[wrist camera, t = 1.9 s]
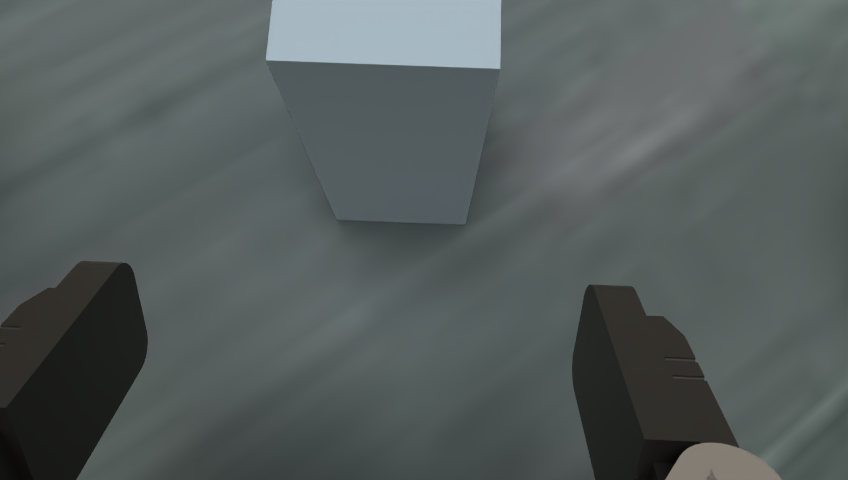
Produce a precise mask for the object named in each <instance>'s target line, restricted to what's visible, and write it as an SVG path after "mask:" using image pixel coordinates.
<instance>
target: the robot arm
mask: <svg viewBox="0 0 848 480" xmlns="http://www.w3.org/2000/svg"><path fill="white" fill-rule="evenodd" d="M147 345H148V338H147V330H146V326H145V321H144V317H143V312H142V308H141V303H140V299H139V294H138V290H137V285H136V281H135V276H134V273H133V270H132V268H131V267H130V265H129V264H127V263H115V262H92V261H82V262H80V263H78V264H77V265H76V266H75V267H74V268H73V269H72V270H71V271H70V272H69V274H68V275H67V276H66V277H65V278H64V279H63V280H62V281H61V283H60V284H59V285H58V286H57V287H56V288H47V289H46V290H44V291H42V292H41V293H39V294H37V295H36V296H34V297H32V298H31V299H29V300H27V301H26V302H24V303H22V304H21V305H19V306H18V307H17V309H16V310H15V311H14V312H13V313H12V314H11V315H10V316H9V317H8V318H7V319H6V320H5V321H4V322H3V323H2V325H1V329H0V480H76V479H77V477H78V476H79V474H80V472H81V470H82V469H83V467H84V465H85V464H86V462H87V460H88V459H89V457H90V455H91V453H92V452H93V450H94V448H95V447H96V445H97V443H98V442H99V440H100V438H101V436H102V435H103V433H104V431H105V430H106V428H107V426H108V425H109V423H110V421H111V419H112V418H113V416H114V414H115V413H116V411H117V409H118V408H119V406H120V404H121V402H122V401H123V399H124V397H125V396H126V394H127V392H128V391H129V389H130V387H131V385H132V384H133V382H134V380H135V379H136V377H137V375H138V374H139V372H140V370H141V368H142V366H143V364H144V361H145V358H146V353H147ZM572 376H573V386H574V391H575V395H576V400H577V404H578V408H579V412H580V417H581V421H582V425H583V429H584V433H585V438H586V442H587V446H588V450H589V454H590V459H591V463H592V467H593V471H594V476H595V480H782V479H781V478H780V477H779V475H778V474H777V473H776V472H775V471H774V470H773V469H772V468H771V467H770V466H769V465H767V464H766V463H765V462H764V461H762V460H761V459H759V458H758V457H756V456H754V455H753V454H751V453H749V452H747V451H745V450H742V449H740V448H739V446H738V444H737V442H736V440H735V438H734V436H733V434H732V432H731V430H730V428H729V425H728V423H727V421H726V419H725V417H724V415H723V413H722V411H721V409H720V407H719V405H718V403H717V401H716V399H715V397H714V395H713V393H712V391H711V389H710V387H709V385H708V383H707V381H704V375H703V372H702V370H701V368H700V366H699V364H698V363H697V362H695V356H694V354H693V352H692V350H691V348H690V346H689V344H688V342H687V340H686V338H685V336H684V335H683V334H682V333H681V332H680V331H679V330H677V329H676V328H675V327H674V326H673V325H672V324H671V323H670V322H669V321H668V320H666V319H665V318H664V317H663V316H646V314H645V312H644V309H643V307H642V305H641V302H640V300H639V298H638V295H637V293H636V291H635V289H634V288H633V287H632V286H610V285H588V287H587V289H586V291H585V295H584V300H583V305H582V311H581V316H580V321H579V327H578V332H577V337H576V342H575V348H574V353H573V363H572Z"/></svg>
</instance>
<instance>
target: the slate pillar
mask: <svg viewBox="0 0 848 480" xmlns="http://www.w3.org/2000/svg"><path fill="white" fill-rule="evenodd" d="M500 47H501V0H273V1H272V10H271V19H270V28H269V37H268V46H267V55H266V62H267V64H268V66H269V68H270V71H271V73H272V75H273V77H274V80H275V82H276V84H277V86H278V89H279V91H280V93H281V95H282V98H283V100H284V102H285V105H286V107H287V109H288V111H289V114H290V116H291V118H292V120H293V123H294V125H295V127H296V129H297V132H298V134H299V136H300V138H301V141H302V143H303V145H304V147H305V150H306V152H307V154H308V156H309V159H310V161H311V163H312V166H313V168H314V170H315V172H316V175H317V177H318V179H319V181H320V184H321V186H322V188H323V190H324V193H325V195H326V197H327V199H328V202H329V204H330V206H331V208H332V211H333V213H334V215H335V217H336V220H353V221H379V222H405V223H431V224H457V225H466V221H467V216H468V212H469V207H470V203H471V198H472V194H473V189H474V185H475V180H476V176H477V171H478V167H479V162H480V158H481V153H482V149H483V144H484V140H485V135H486V131H487V126H488V122H489V117H490V113H491V108H492V104H493V99H494V95H495V90H496V86H497V81H498V77H499V72H500Z"/></svg>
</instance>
